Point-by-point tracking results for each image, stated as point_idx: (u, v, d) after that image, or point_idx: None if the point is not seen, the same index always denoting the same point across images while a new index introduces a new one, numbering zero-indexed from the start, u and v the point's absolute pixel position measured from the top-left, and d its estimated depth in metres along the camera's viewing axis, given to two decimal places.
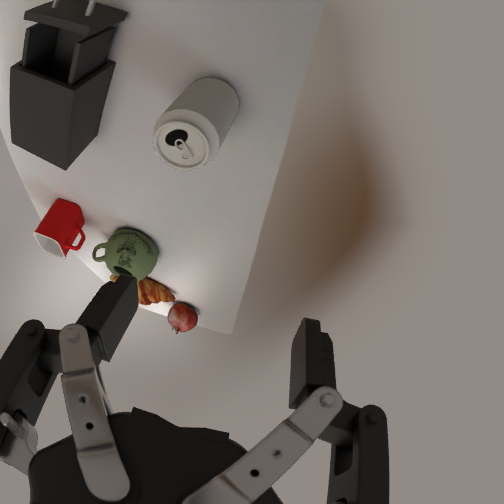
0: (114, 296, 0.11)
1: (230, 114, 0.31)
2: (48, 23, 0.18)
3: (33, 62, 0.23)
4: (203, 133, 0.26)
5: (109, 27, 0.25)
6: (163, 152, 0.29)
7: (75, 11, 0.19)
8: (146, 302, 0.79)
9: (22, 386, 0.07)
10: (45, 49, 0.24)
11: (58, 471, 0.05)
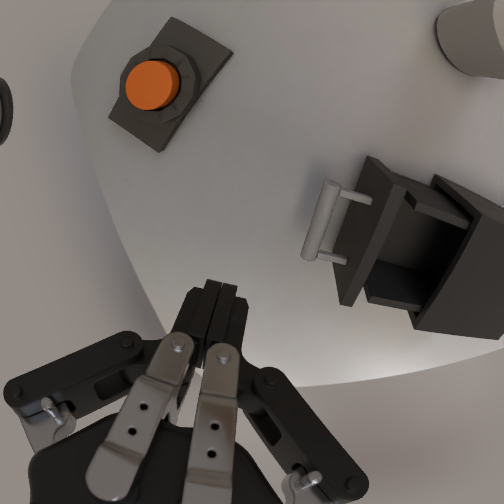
0: (208, 302, 0.12)
1: (473, 1, 0.11)
2: (372, 261, 0.22)
3: (418, 294, 0.25)
4: None
5: None
6: None
7: (361, 223, 0.23)
8: None
9: (85, 387, 0.08)
10: (403, 277, 0.27)
11: (61, 477, 0.05)
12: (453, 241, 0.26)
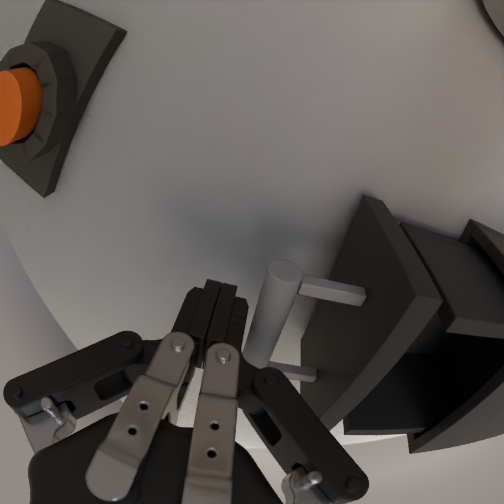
0: (208, 302, 0.12)
1: None
2: (354, 404, 0.11)
3: (424, 405, 0.15)
4: None
5: None
6: None
7: (342, 329, 0.13)
8: None
9: (85, 387, 0.08)
10: (406, 377, 0.17)
11: (61, 477, 0.05)
12: None
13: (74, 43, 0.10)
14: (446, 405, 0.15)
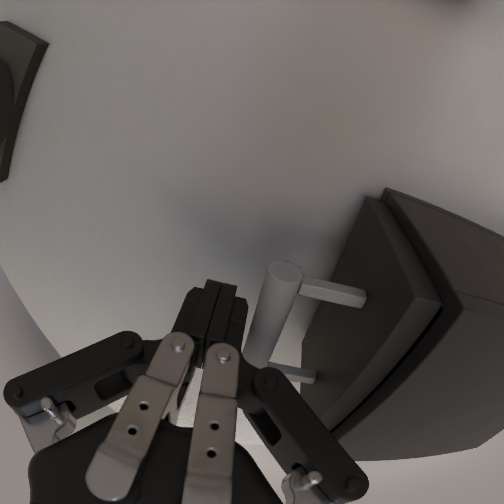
0: (208, 302, 0.12)
1: None
2: (352, 406, 0.11)
3: None
4: None
5: None
6: None
7: (342, 331, 0.13)
8: None
9: (85, 387, 0.08)
10: None
11: (61, 477, 0.05)
12: None
13: (12, 57, 0.11)
14: None
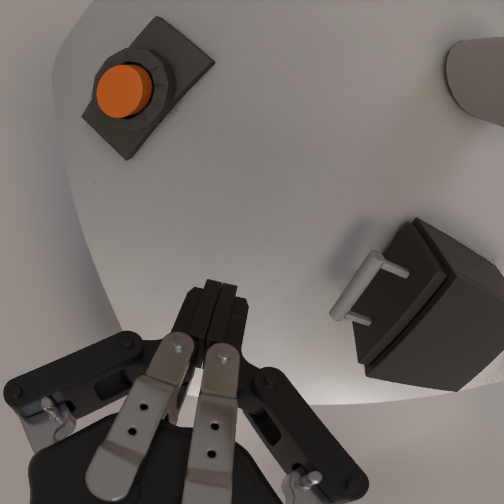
0: (208, 302, 0.12)
1: (494, 37, 0.10)
2: (398, 331, 0.21)
3: None
4: None
5: None
6: None
7: (392, 291, 0.23)
8: None
9: (85, 387, 0.08)
10: None
11: (61, 477, 0.05)
12: None
13: (178, 60, 0.19)
14: None
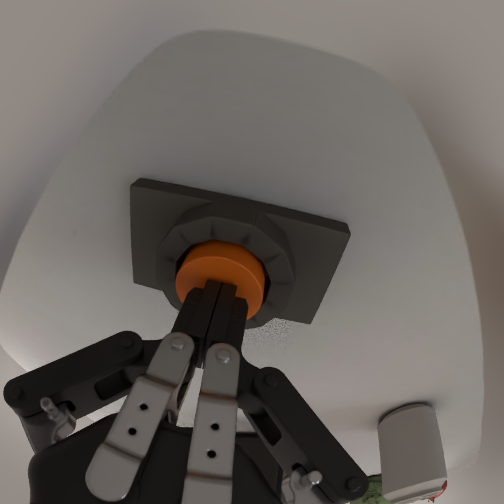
0: (208, 302, 0.12)
1: (438, 438, 0.22)
2: None
3: None
4: (433, 490, 0.17)
5: None
6: None
7: None
8: None
9: (85, 387, 0.08)
10: None
11: (61, 477, 0.05)
12: None
13: (294, 294, 0.17)
14: None
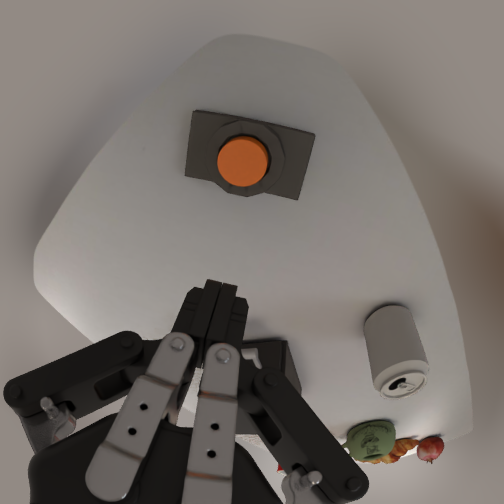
0: (208, 302, 0.12)
1: (415, 331, 0.32)
2: None
3: None
4: (417, 371, 0.27)
5: None
6: (390, 395, 0.31)
7: None
8: (396, 459, 0.62)
9: (85, 387, 0.08)
10: None
11: (61, 477, 0.05)
12: None
13: (286, 176, 0.28)
14: None
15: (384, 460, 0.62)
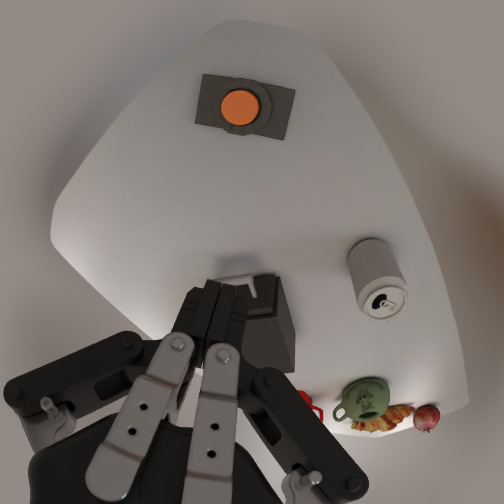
0: (208, 302, 0.12)
1: (393, 259, 0.39)
2: None
3: None
4: (395, 286, 0.34)
5: None
6: (374, 316, 0.37)
7: (241, 297, 0.46)
8: (393, 426, 0.68)
9: (85, 387, 0.08)
10: None
11: (61, 477, 0.05)
12: None
13: (273, 121, 0.35)
14: None
15: (380, 427, 0.69)
